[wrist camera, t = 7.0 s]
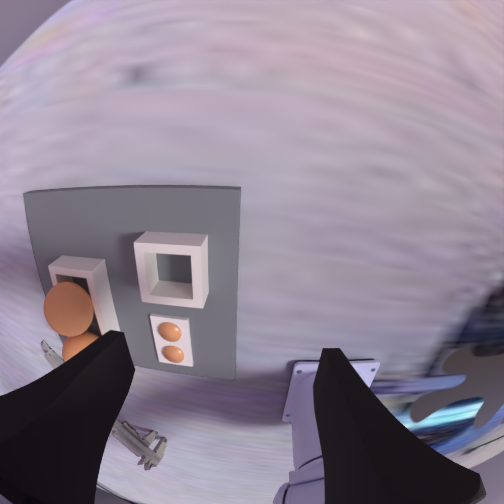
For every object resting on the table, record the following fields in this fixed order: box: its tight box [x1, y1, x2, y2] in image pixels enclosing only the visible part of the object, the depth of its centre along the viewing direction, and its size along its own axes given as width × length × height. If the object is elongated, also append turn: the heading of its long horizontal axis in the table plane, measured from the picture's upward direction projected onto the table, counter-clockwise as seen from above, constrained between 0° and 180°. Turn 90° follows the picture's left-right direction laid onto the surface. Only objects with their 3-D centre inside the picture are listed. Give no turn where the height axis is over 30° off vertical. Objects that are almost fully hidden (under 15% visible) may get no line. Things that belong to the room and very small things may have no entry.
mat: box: [24, 185, 241, 380], centre depth 20 cm, size 16×18×1 cm
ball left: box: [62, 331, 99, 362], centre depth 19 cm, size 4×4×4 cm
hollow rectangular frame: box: [48, 255, 120, 335], centre depth 20 cm, size 10×4×2 cm, turn 177°
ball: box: [44, 282, 94, 337], centre depth 17 cm, size 4×4×4 cm
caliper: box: [41, 341, 167, 470], centre depth 25 cm, size 20×1×6 cm, turn 39°
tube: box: [134, 231, 209, 309], centre depth 17 cm, size 4×4×2 cm
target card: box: [150, 314, 193, 367], centre depth 21 cm, size 5×3×1 cm, turn 177°
